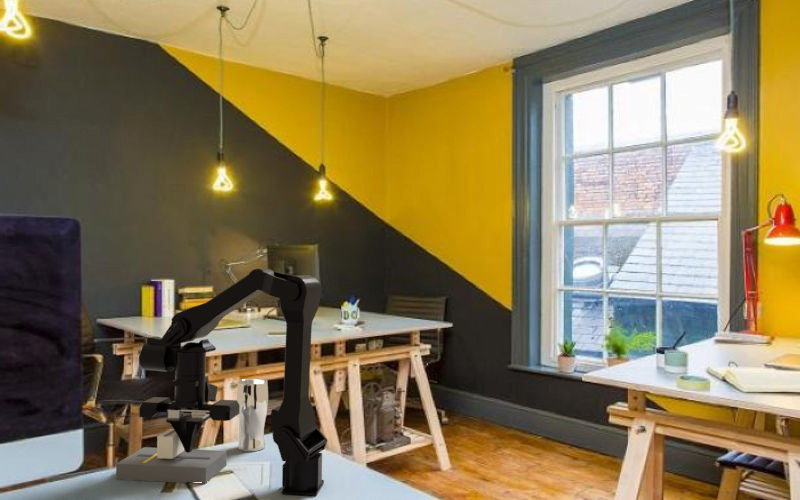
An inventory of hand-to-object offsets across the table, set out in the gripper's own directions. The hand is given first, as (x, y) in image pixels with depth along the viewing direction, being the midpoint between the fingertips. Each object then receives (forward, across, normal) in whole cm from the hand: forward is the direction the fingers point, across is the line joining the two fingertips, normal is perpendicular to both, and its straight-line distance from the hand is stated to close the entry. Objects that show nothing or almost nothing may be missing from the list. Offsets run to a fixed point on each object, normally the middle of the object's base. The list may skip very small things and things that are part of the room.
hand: (188, 451), depth 116 cm
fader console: (+4, +3, 0) cm, 5 cm away
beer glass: (+4, -7, -17) cm, 19 cm away
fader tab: (+1, +4, 0) cm, 4 cm away
